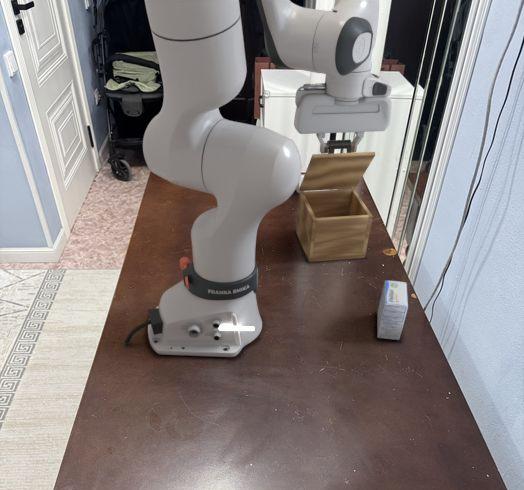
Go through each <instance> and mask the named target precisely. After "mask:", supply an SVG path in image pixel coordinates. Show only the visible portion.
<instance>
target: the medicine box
mask: <svg viewBox="0 0 524 490" xmlns="http://www.w3.org/2000/svg"><path fill="white" fill-rule="evenodd" d="M408 295H409V294H408V283H407V282H405V281H398V280H384V282H383V285H382V291H381V295H380V299H379V303H378V307H377V313H376V315H377V316H376V317H377V318H376V319H377V323H376V325H377V327H376V328H377V336H376V338H378V339H385V340H393V341H394V340H395V341H400V339H401V335H402V332H403V328H404V324H405V320H406V317H407V314H408V309H409V297H408Z"/></svg>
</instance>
